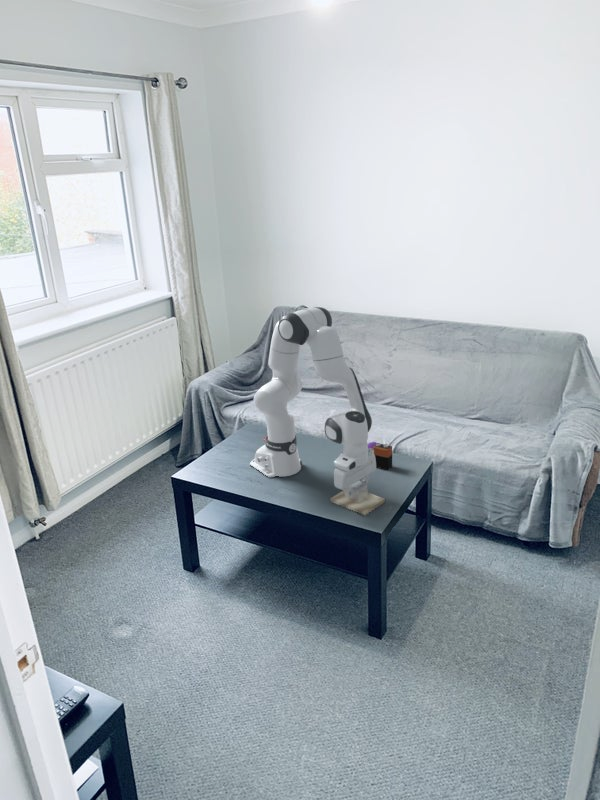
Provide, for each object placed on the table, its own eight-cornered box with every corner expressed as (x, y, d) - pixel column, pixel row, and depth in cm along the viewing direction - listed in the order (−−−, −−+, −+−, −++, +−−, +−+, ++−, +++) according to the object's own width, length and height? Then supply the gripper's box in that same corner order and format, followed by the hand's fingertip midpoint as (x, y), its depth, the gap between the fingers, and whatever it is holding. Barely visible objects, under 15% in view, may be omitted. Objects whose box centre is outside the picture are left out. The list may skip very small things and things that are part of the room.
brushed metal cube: (347, 499, 226) (347, 485, 223) (356, 493, 229) (356, 479, 227) (358, 503, 222) (358, 489, 220) (367, 498, 226) (367, 483, 224)
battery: (388, 470, 247) (388, 448, 244) (372, 466, 251) (372, 444, 247) (392, 466, 251) (392, 443, 247) (377, 462, 254) (377, 440, 251)
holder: (330, 501, 227) (329, 487, 225) (350, 488, 235) (350, 475, 233) (365, 515, 217) (364, 501, 215) (385, 501, 225) (385, 488, 223)
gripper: (366, 443, 228) (366, 476, 233) (330, 463, 215) (331, 498, 220) (380, 448, 224) (380, 481, 229) (344, 469, 211) (345, 504, 216)
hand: (356, 490), depth 224 cm, fingers open, 8 cm apart
